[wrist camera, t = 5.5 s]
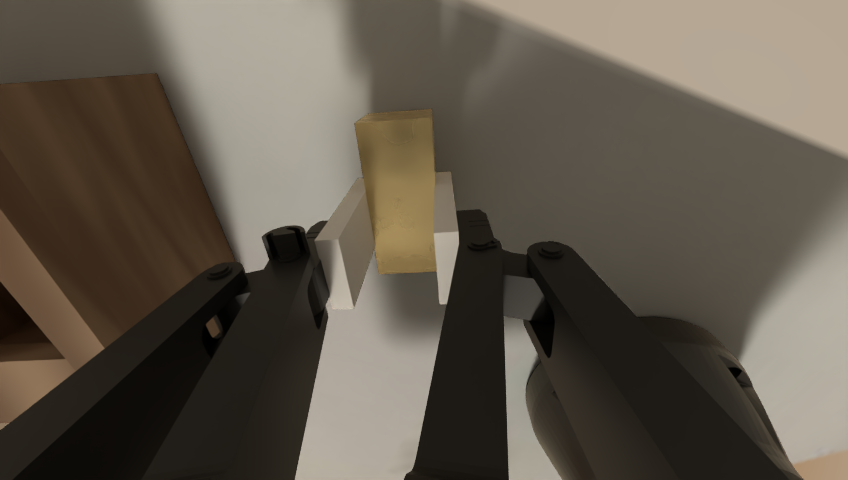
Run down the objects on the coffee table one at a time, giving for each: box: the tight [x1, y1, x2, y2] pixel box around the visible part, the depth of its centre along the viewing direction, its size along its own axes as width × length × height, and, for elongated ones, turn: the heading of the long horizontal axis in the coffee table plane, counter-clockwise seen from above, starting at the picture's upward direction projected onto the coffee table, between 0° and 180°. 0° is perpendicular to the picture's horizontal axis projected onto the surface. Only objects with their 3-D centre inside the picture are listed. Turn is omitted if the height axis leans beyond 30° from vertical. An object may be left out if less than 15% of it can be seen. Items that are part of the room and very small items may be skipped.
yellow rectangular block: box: [354, 109, 437, 274], centre depth 16 cm, size 3×7×3 cm, turn 4°
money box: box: [0, 73, 236, 423], centre depth 17 cm, size 14×14×9 cm
